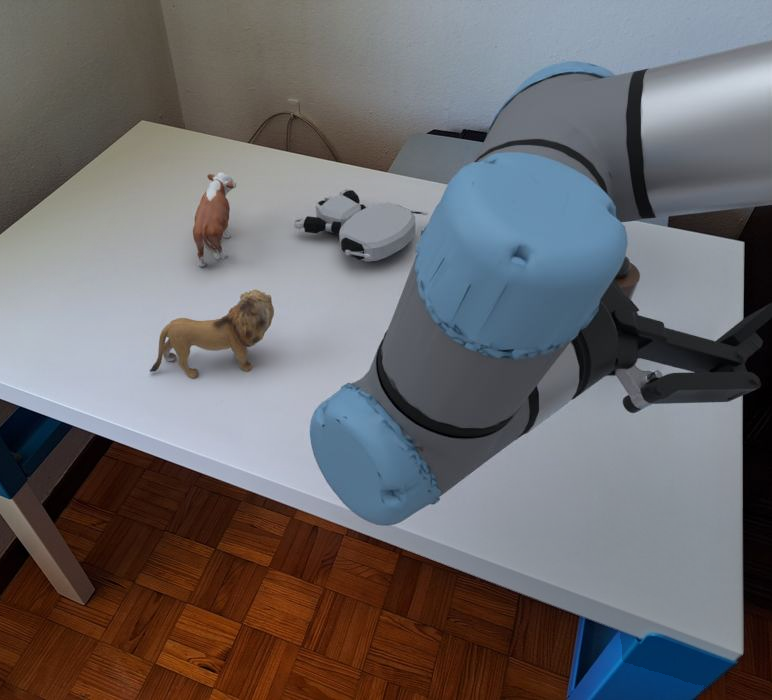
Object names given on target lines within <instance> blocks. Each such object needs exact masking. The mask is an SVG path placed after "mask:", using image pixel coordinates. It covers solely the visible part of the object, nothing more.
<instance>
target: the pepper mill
mask: <svg viewBox="0 0 772 700" xmlns="http://www.w3.org/2000/svg"><path fill="white" fill-rule="evenodd" d="M640 279H641V273H640V270H639V269H638V268H637V266H635V264H633V263H632V262H631V260H630V259H629V258H628V256H627V255H626V256H625V259H624V261H623V264H622V266H621V268H620V270H619V272H618V273H617V275H616V276H615V278H614V280H615V281H616V282H617V284H618V285H619V287H620V289H621V291H622V292H623V294H624V295H626V296H627V297H628V298H629V299H630V300H631V301H632V299H633V297H634V294H635V292H636V289H637V286H638V283H639V282H640Z"/></svg>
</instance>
